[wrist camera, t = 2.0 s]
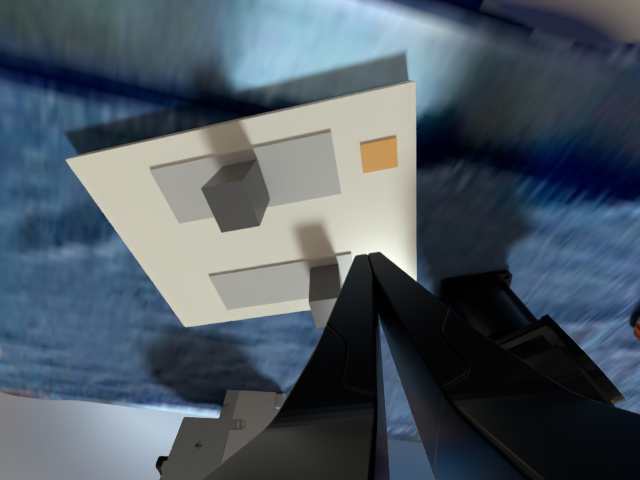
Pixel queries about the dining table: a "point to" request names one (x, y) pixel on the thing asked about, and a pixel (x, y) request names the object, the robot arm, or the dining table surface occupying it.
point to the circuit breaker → (218, 434)
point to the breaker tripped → (237, 196)
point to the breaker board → (283, 208)
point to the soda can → (637, 328)
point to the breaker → (323, 292)
